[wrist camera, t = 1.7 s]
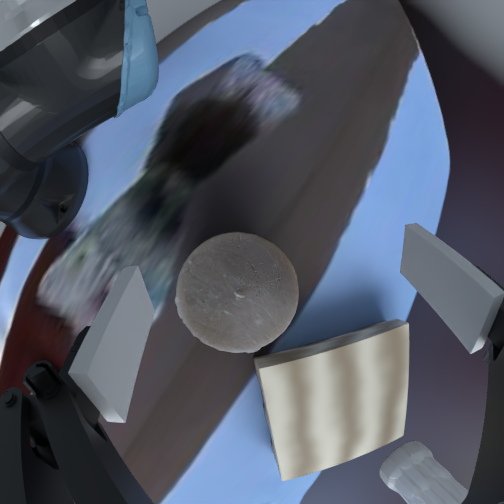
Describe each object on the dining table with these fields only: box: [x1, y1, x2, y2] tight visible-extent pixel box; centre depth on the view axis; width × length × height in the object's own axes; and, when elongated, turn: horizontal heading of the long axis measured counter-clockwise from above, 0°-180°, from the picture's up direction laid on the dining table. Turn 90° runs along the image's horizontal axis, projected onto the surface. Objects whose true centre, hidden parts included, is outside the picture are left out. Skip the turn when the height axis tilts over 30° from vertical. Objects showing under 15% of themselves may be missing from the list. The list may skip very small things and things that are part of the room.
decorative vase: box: [380, 441, 469, 504], centre depth 27 cm, size 11×11×25 cm
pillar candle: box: [175, 232, 299, 353], centre depth 28 cm, size 10×10×15 cm
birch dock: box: [253, 319, 409, 481], centre depth 34 cm, size 20×20×6 cm
